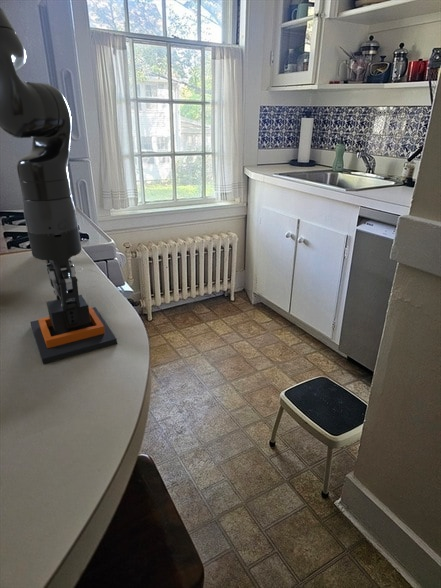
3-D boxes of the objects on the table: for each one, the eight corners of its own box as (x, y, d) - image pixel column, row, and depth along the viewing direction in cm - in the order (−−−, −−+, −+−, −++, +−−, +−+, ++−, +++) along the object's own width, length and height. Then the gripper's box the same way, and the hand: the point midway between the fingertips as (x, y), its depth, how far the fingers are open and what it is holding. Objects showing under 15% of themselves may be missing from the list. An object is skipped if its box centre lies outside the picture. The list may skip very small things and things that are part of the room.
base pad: (43, 364, 62) (40, 351, 61) (31, 326, 73) (28, 314, 72) (117, 343, 68) (115, 331, 67) (96, 311, 78) (94, 300, 77)
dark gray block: (54, 331, 66) (51, 313, 64) (49, 319, 70) (46, 301, 68) (91, 323, 69) (88, 305, 67) (84, 311, 73) (81, 294, 71)
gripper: (21, 218, 66) (40, 308, 73) (33, 240, 54) (54, 344, 62) (68, 213, 69) (81, 299, 76) (88, 233, 58) (102, 332, 65)
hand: (69, 319), depth 69 cm, fingers closed on dark gray block, 5 cm apart
